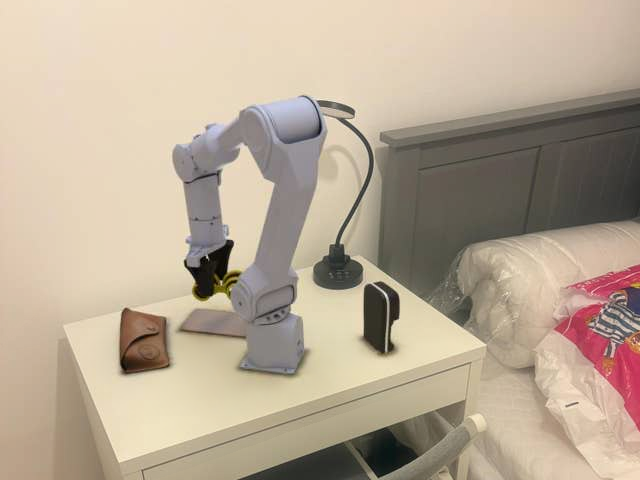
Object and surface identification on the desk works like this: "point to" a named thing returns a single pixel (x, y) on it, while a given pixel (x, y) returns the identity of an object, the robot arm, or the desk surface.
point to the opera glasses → (219, 285)
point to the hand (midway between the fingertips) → (214, 287)
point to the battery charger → (380, 315)
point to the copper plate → (215, 323)
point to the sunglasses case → (142, 341)
